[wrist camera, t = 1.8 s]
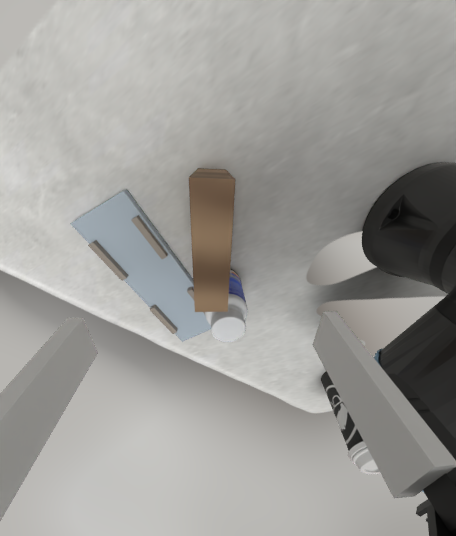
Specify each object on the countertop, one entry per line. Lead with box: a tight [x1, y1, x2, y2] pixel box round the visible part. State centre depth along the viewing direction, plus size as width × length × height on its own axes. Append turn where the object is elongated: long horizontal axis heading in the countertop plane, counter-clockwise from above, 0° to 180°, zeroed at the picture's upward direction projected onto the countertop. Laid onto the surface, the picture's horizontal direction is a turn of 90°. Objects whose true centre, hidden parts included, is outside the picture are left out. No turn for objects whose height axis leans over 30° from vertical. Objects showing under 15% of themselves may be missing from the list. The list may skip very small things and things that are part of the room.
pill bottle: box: [205, 270, 248, 342], centre depth 27 cm, size 5×5×10 cm
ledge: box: [70, 189, 211, 342], centre depth 29 cm, size 8×24×2 cm, turn 27°
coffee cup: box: [321, 372, 380, 474], centre depth 39 cm, size 10×10×15 cm
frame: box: [189, 168, 235, 312], centre depth 22 cm, size 12×3×11 cm, turn 177°
